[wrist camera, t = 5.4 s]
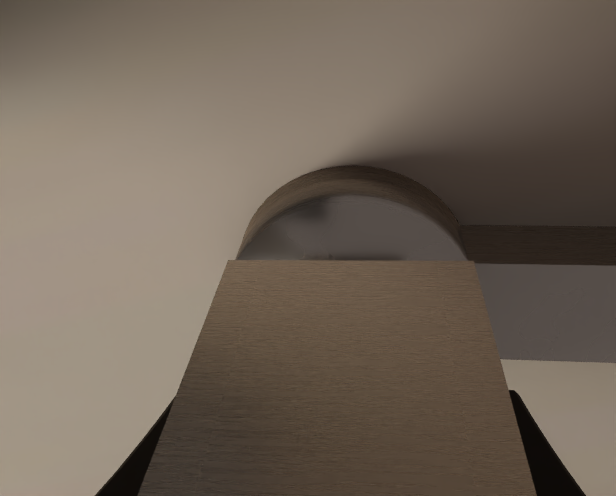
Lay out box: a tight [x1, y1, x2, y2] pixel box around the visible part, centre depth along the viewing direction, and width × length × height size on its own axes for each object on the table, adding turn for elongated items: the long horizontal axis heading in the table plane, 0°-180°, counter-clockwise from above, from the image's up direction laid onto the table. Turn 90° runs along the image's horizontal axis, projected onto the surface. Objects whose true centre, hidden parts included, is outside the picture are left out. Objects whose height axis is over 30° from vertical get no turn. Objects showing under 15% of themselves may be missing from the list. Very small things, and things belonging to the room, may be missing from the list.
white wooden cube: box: [137, 260, 537, 496], centre depth 10 cm, size 5×5×6 cm
